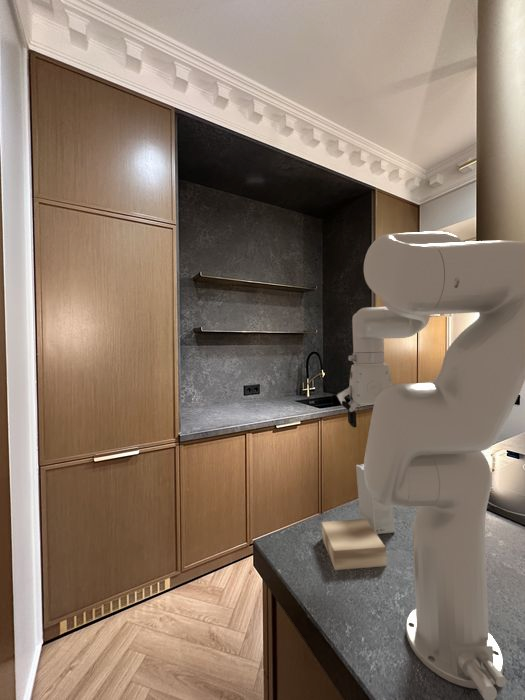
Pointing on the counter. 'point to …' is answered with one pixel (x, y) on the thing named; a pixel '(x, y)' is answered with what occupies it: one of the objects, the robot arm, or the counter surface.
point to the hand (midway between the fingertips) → (371, 425)
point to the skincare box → (373, 507)
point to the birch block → (353, 544)
